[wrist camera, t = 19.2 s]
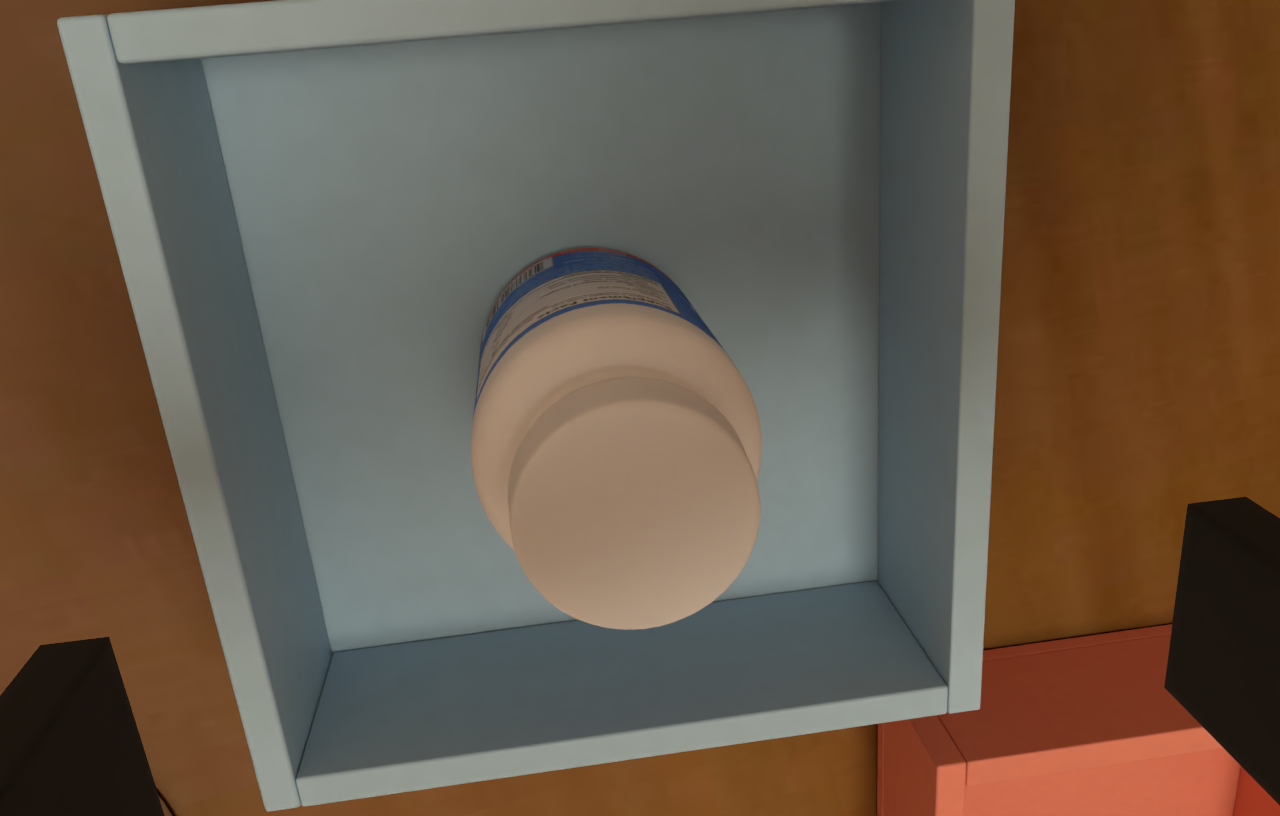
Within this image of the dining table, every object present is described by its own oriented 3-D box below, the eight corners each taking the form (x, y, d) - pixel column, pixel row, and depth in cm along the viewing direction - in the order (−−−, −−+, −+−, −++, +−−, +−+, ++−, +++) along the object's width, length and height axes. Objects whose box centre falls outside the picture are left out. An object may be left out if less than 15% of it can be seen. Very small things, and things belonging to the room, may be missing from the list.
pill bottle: (700, 443, 26) (802, 661, 17) (490, 460, 26) (480, 694, 16) (697, 232, 24) (810, 350, 15) (470, 245, 24) (445, 376, 14)
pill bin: (906, -38, 23) (1019, -60, 18) (898, 591, 29) (981, 710, 24) (162, 22, 22) (52, 17, 17) (311, 669, 28) (264, 814, 22)
